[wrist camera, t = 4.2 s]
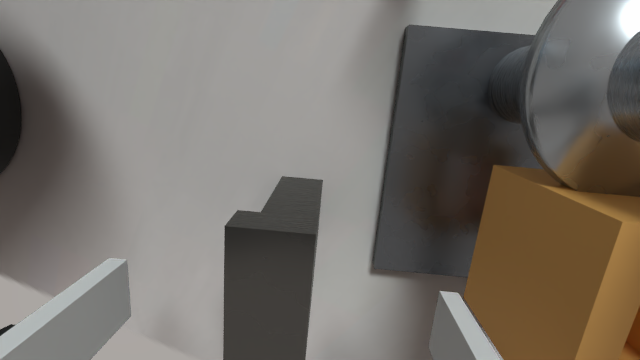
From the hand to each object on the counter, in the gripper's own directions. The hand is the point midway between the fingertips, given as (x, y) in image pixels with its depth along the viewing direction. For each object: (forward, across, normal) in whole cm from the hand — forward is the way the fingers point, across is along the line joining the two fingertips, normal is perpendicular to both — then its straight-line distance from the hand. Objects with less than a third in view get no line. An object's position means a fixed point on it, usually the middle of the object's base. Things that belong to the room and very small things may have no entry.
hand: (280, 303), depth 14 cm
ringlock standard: (+12, +14, +6) cm, 19 cm away
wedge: (+11, 0, 0) cm, 11 cm away
